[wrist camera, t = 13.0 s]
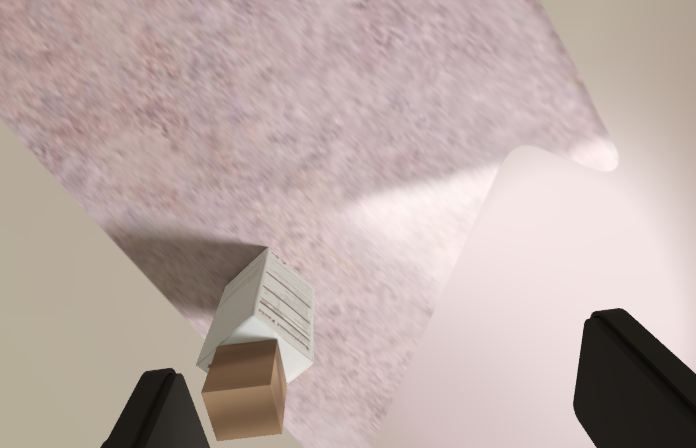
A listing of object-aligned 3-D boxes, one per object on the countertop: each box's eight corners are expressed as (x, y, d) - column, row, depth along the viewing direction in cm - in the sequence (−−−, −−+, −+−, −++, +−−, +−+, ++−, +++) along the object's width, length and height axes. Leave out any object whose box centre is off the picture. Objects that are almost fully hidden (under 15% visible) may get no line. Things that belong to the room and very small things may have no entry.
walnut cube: (217, 345, 35) (201, 393, 30) (277, 339, 35) (270, 384, 30) (230, 390, 37) (217, 441, 32) (287, 384, 37) (281, 433, 32)
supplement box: (272, 323, 49) (257, 410, 38) (224, 285, 47) (191, 366, 35) (317, 285, 47) (316, 365, 36) (269, 243, 45) (250, 315, 34)
